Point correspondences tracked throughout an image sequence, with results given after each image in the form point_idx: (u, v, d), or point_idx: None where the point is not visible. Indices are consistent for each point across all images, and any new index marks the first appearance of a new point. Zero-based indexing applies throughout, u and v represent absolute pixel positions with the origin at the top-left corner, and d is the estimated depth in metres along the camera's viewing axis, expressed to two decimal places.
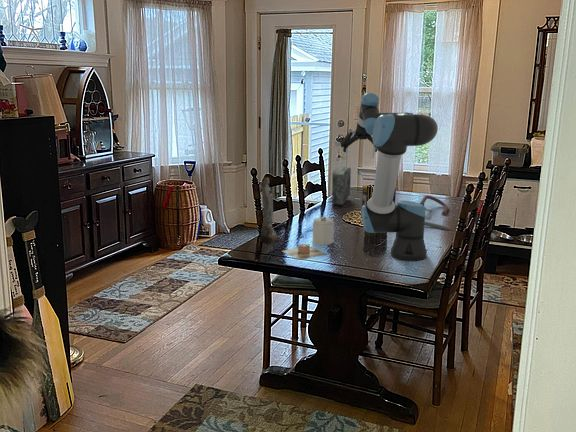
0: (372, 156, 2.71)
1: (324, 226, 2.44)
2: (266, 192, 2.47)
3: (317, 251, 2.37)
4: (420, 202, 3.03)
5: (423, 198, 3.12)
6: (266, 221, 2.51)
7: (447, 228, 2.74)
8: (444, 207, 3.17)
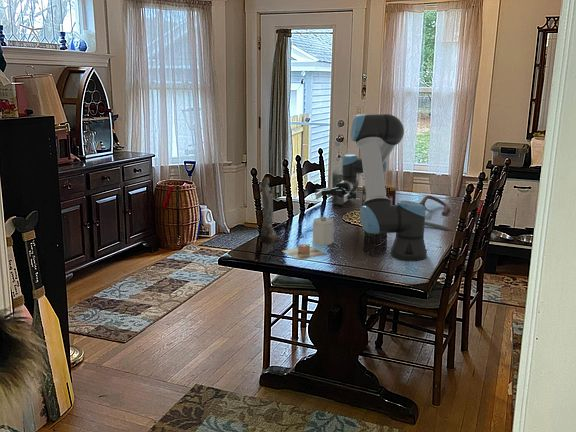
0: (344, 195, 2.52)
1: (324, 226, 2.44)
2: (266, 192, 2.47)
3: (317, 251, 2.37)
4: (420, 202, 3.03)
5: (423, 198, 3.12)
6: (266, 221, 2.51)
7: (447, 228, 2.74)
8: (445, 207, 3.17)
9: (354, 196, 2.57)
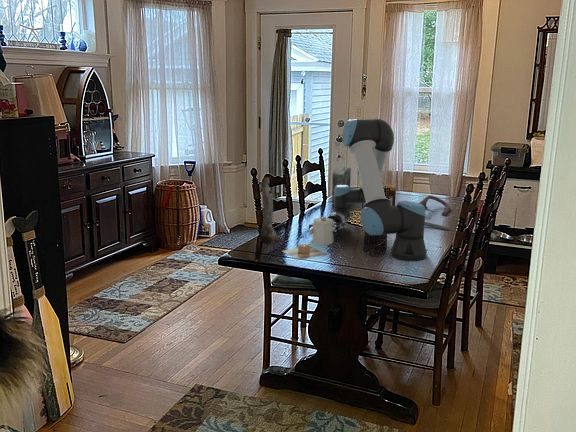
0: (329, 231, 2.44)
1: (324, 226, 2.44)
2: (266, 192, 2.47)
3: (317, 251, 2.37)
4: None
5: (424, 198, 3.12)
6: (266, 221, 2.51)
7: (447, 228, 2.74)
8: (446, 208, 3.16)
9: (340, 231, 2.48)
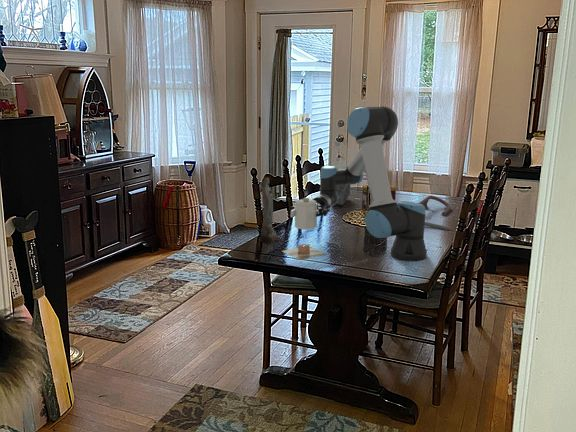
0: None
1: (306, 207, 2.29)
2: (266, 192, 2.47)
3: (317, 251, 2.37)
4: None
5: (425, 198, 3.11)
6: (266, 221, 2.51)
7: (447, 228, 2.74)
8: (447, 208, 3.15)
9: (324, 213, 2.34)
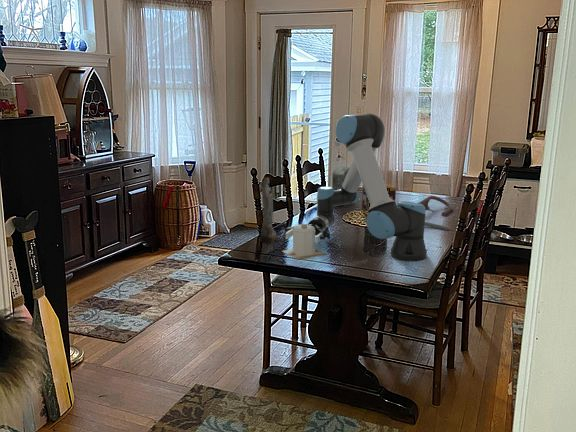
0: (316, 236, 2.29)
1: (305, 234, 2.29)
2: (266, 192, 2.47)
3: (317, 251, 2.37)
4: (419, 202, 3.03)
5: None
6: (266, 221, 2.51)
7: (447, 228, 2.74)
8: None
9: (328, 236, 2.33)
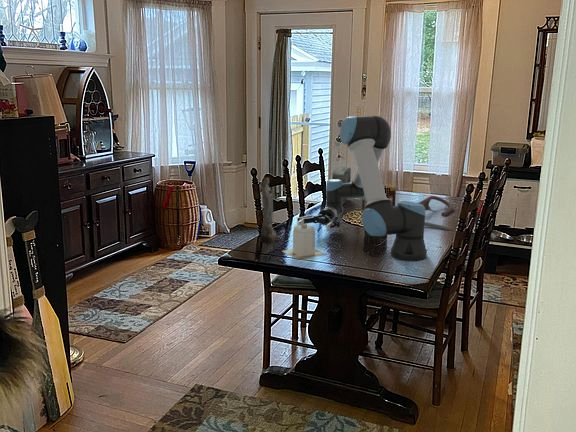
0: (327, 224, 2.41)
1: (305, 234, 2.29)
2: (266, 192, 2.47)
3: (317, 251, 2.37)
4: (419, 202, 3.03)
5: (426, 198, 3.11)
6: (266, 221, 2.51)
7: (447, 228, 2.74)
8: (449, 208, 3.14)
9: (337, 224, 2.46)
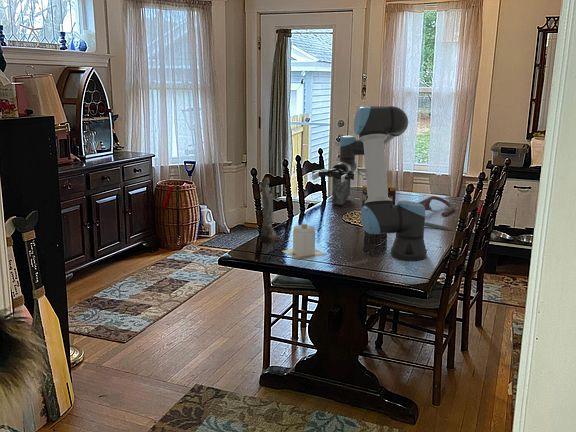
0: (341, 175, 2.44)
1: (305, 234, 2.29)
2: (266, 192, 2.47)
3: (317, 251, 2.37)
4: (419, 202, 3.03)
5: None
6: (266, 221, 2.51)
7: (447, 228, 2.74)
8: None
9: (352, 177, 2.49)
